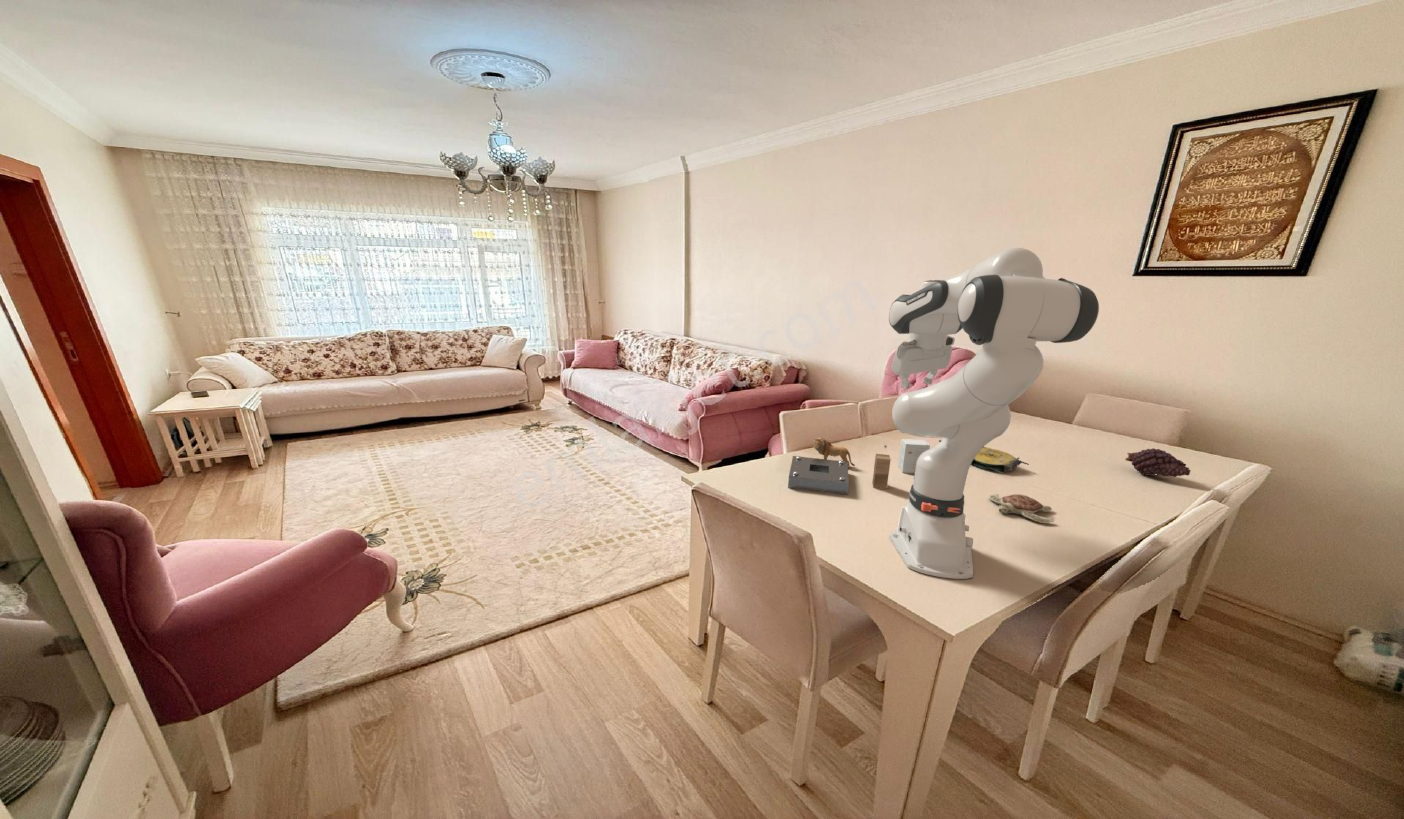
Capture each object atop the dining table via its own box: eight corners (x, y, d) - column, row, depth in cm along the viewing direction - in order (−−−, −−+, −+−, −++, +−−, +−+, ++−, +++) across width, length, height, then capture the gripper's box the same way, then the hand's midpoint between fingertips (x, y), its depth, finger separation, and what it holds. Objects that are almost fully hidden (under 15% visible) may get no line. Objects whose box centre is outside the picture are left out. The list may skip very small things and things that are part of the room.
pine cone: (1191, 484, 164) (1200, 455, 161) (1177, 489, 160) (1186, 460, 157) (1128, 465, 179) (1135, 439, 176) (1114, 469, 175) (1121, 443, 172)
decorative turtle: (971, 502, 148) (974, 487, 147) (1011, 494, 154) (1014, 480, 152) (1028, 531, 132) (1032, 514, 130) (1070, 521, 137) (1074, 505, 136)
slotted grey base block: (847, 495, 150) (849, 481, 149) (787, 487, 154) (788, 474, 153) (846, 472, 167) (847, 460, 166) (792, 466, 171) (793, 454, 170)
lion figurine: (811, 463, 174) (813, 439, 172) (813, 458, 179) (815, 434, 177) (854, 469, 170) (857, 445, 167) (855, 464, 175) (857, 440, 172)
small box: (920, 468, 172) (925, 439, 170) (926, 474, 167) (930, 445, 164) (897, 466, 173) (901, 438, 170) (901, 473, 168) (905, 443, 165)
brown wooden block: (886, 489, 155) (890, 459, 152) (873, 487, 156) (876, 458, 153) (885, 484, 158) (889, 455, 156) (872, 482, 159) (875, 453, 157)
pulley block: (954, 429, 195) (1031, 455, 169) (954, 443, 197) (1030, 470, 171) (929, 439, 190) (1004, 467, 164) (928, 453, 192) (1003, 482, 166)
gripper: (908, 344, 131) (899, 393, 136) (959, 338, 140) (949, 384, 145) (890, 339, 136) (882, 387, 141) (940, 334, 145) (930, 378, 150)
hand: (916, 385), depth 143 cm, fingers open, 8 cm apart
